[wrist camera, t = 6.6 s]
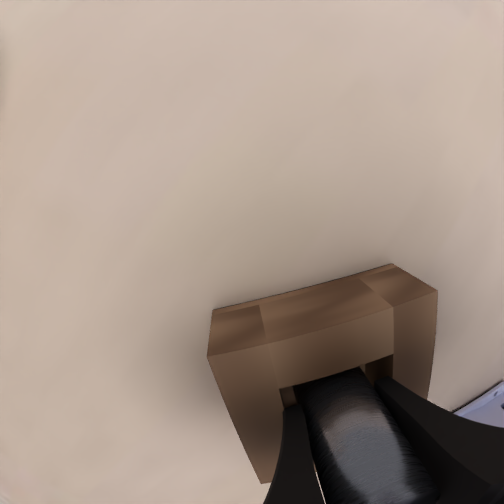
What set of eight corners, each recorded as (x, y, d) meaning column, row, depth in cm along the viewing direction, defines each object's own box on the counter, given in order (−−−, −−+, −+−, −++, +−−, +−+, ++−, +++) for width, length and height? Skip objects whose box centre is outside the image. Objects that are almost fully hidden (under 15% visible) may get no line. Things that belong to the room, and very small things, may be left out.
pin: (351, 335, 12) (451, 475, 4) (356, 385, 13) (429, 515, 5) (283, 355, 12) (334, 526, 4) (296, 404, 13) (338, 551, 5)
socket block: (392, 263, 12) (437, 290, 9) (392, 394, 14) (419, 433, 11) (212, 310, 12) (206, 356, 9) (255, 434, 14) (261, 483, 11)
